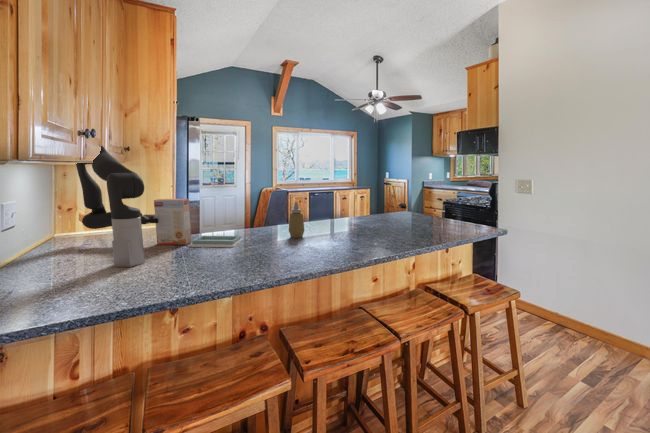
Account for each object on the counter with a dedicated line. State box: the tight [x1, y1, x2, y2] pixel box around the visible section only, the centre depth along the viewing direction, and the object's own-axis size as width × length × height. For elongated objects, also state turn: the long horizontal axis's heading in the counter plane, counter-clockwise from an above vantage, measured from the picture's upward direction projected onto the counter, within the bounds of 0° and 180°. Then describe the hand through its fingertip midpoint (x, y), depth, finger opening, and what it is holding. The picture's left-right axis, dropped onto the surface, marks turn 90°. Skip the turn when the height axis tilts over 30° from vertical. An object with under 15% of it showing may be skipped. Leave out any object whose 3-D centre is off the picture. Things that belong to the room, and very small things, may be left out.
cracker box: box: [153, 198, 192, 246], centre depth 156 cm, size 14×6×21 cm, turn 84°
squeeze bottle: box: [288, 201, 305, 239], centre depth 170 cm, size 8×8×18 cm
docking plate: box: [189, 235, 244, 248], centre depth 157 cm, size 14×20×2 cm
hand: (162, 219), depth 156 cm, fingers open, 8 cm apart
